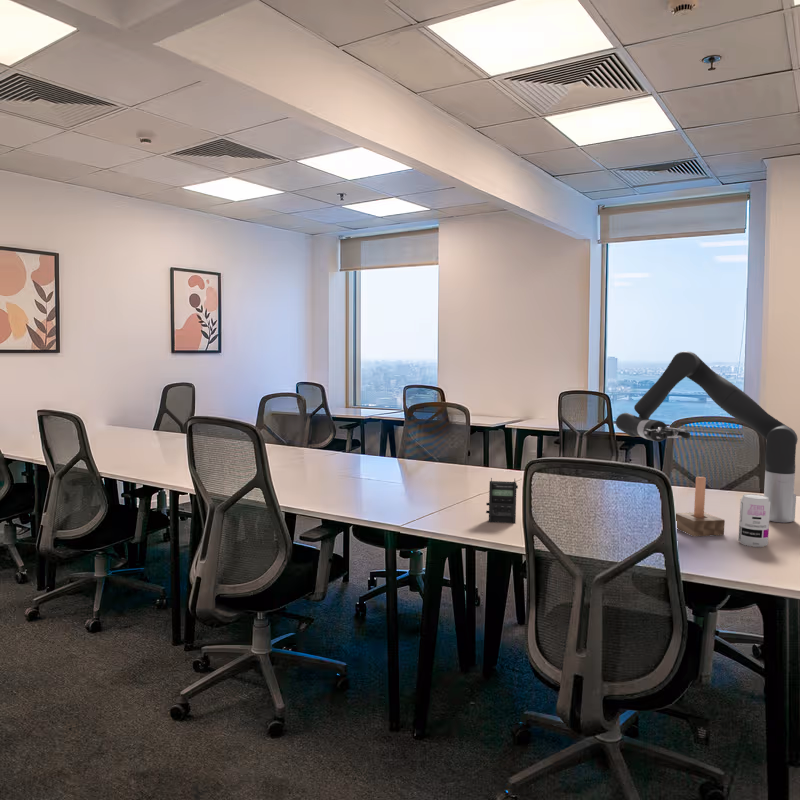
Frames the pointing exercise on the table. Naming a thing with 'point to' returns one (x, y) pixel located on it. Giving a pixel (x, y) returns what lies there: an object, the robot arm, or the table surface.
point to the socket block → (700, 524)
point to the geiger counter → (502, 501)
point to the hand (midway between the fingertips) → (677, 435)
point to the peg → (699, 497)
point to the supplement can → (754, 520)
